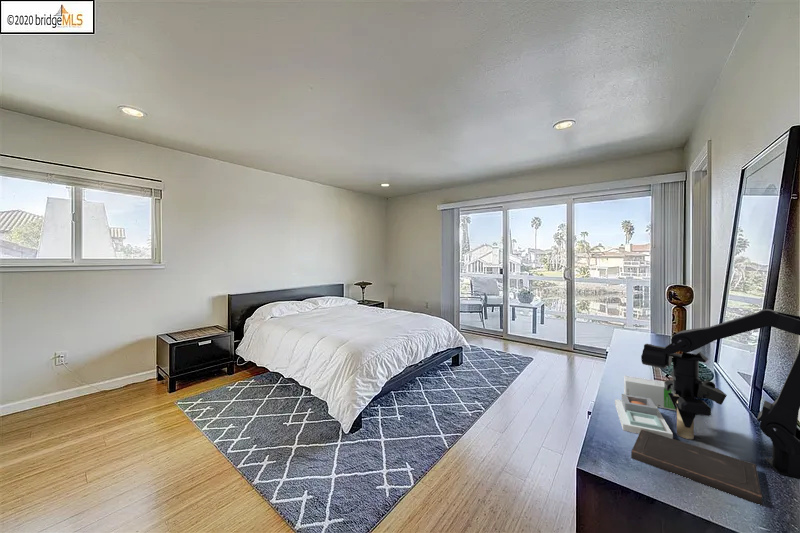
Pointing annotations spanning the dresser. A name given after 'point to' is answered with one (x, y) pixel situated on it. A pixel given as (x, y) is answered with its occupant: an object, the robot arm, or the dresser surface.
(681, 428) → the beige cylindrical rod
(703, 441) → the dresser surface
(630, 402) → the button
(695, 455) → the hardcover book
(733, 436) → the dresser surface
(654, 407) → the panel
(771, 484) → the dresser surface
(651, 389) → the skincare box
